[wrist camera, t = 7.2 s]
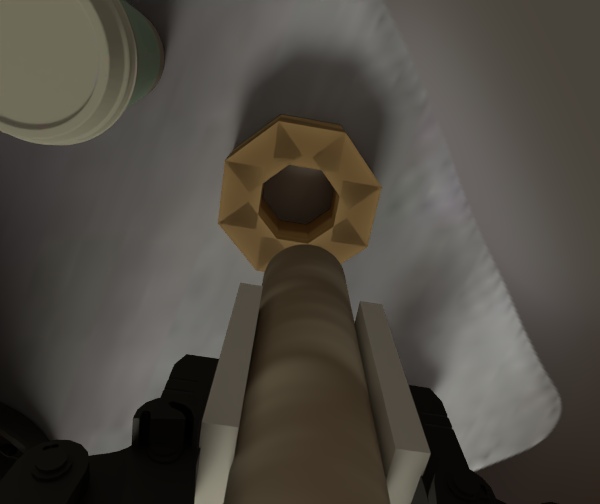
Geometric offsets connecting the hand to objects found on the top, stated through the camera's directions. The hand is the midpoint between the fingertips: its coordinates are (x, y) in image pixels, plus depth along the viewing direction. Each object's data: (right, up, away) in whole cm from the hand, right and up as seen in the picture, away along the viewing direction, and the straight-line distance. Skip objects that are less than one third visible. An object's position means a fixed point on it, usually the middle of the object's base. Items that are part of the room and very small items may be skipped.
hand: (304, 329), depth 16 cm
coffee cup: (-12, +16, +15) cm, 25 cm away
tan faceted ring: (0, +7, +18) cm, 19 cm away
